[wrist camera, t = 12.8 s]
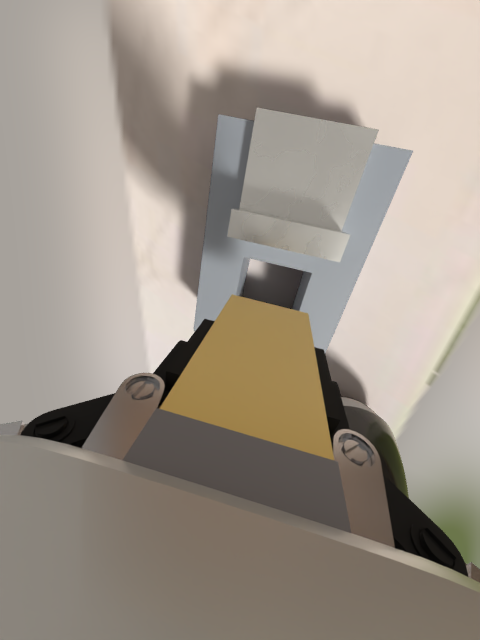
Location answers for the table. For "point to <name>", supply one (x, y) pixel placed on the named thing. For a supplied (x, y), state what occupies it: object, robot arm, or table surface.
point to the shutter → (300, 183)
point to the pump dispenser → (377, 440)
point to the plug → (251, 416)
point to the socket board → (319, 274)
